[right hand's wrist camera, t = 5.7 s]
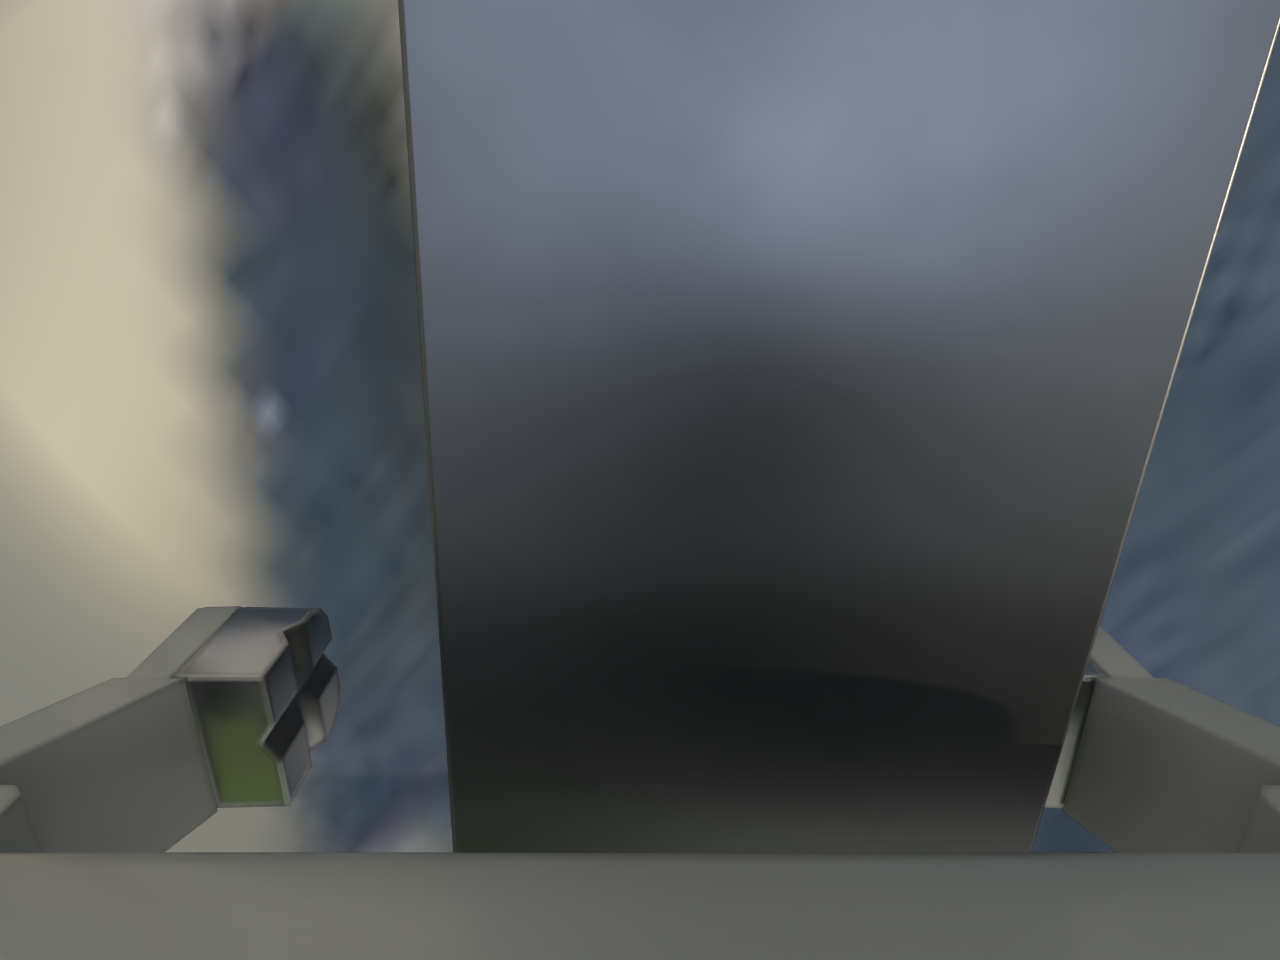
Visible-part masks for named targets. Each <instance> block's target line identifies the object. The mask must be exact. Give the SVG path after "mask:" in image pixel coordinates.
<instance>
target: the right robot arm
mask: <svg viewBox="0 0 1280 960" xmlns="http://www.w3.org/2000/svg"><path fill="white" fill-rule="evenodd" d="M331 640H332V635H331V630H330V625H329V620H328V616H327V615H326V614H325V613H324V612H323V611H322V610H321V609H320V608H268V607H245V608H243V607H240V606H234V607H205V608H199V609H197V610H196V611H195V612H194V613H193V614H192V615H190V616H189V617H188V618H187V619H186V620H185V621H184V622H183V623H182V624H181V625H180V626H179V627H178V628H177V629H176V630H175V631H174V632H173V633H172V634H171V635H170V636H169V637H168V638H167V639H166V640H165V641H164V642H163V643H162V644H161V645H160V646H159V647H157V648H156V649H155V650H154V651H153V652H152V653H151V654H150V655H149V656H148V657H147V658H146V659H145V660H144V661H143V662H142V663H141V664H140V665H139V666H138V667H137V668H136V669H135V670H134V671H133V672H132V673H131V674H130V675H129V676H128V677H127V678H112V679H110V680H107V681H105V682H103V683H100V684H98V685H96V686H94V687H91V688H89V689H87V690H84V691H82V692H80V693H77V694H75V695H73V696H70V697H68V698H66V699H63V700H61V701H59V702H56V703H54V704H52V705H49V706H47V707H45V708H43V709H40V710H38V711H36V712H33V713H31V714H29V715H26V716H24V717H22V718H19V719H17V720H15V721H12V722H10V723H8V724H5V725H3V726H1V727H0V960H1280V727H1279V726H1277V725H1274V724H1272V723H1270V722H1267V721H1265V720H1263V719H1260V718H1258V717H1256V716H1253V715H1251V714H1249V713H1247V712H1244V711H1242V710H1240V709H1237V708H1235V707H1233V706H1230V705H1228V704H1226V703H1223V702H1221V701H1219V700H1216V699H1214V698H1212V697H1210V696H1207V695H1205V694H1203V693H1200V692H1198V691H1196V690H1193V689H1191V688H1189V687H1186V686H1184V685H1182V684H1179V683H1177V682H1175V681H1173V680H1170V679H1168V678H1153V677H1152V676H1151V675H1150V674H1149V673H1148V672H1147V671H1146V670H1145V669H1144V668H1143V667H1142V666H1141V665H1140V664H1139V663H1138V662H1137V661H1136V660H1135V659H1134V658H1133V657H1132V656H1131V655H1130V654H1129V653H1128V652H1127V651H1126V650H1125V649H1124V648H1123V647H1122V646H1121V645H1120V644H1119V643H1118V642H1116V641H1115V640H1114V639H1113V638H1112V637H1111V636H1110V635H1109V634H1108V633H1107V632H1106V631H1105V630H1104V629H1103V628H1102V627H1101V626H1100V625H1099V628H1098V632H1097V635H1096V638H1095V642H1094V645H1093V648H1092V651H1091V655H1090V658H1089V661H1088V665H1087V668H1086V671H1085V675H1084V678H1083V681H1082V685H1081V688H1080V691H1079V695H1078V698H1077V701H1076V704H1075V708H1074V711H1073V714H1072V718H1071V721H1070V724H1069V728H1068V731H1067V734H1066V738H1065V741H1064V744H1063V747H1062V751H1061V754H1060V757H1059V761H1058V764H1057V767H1056V771H1055V774H1054V777H1053V781H1052V784H1051V787H1050V791H1049V794H1048V797H1047V800H1046V804H1045V807H1046V808H1063V812H1064V813H1066V814H1067V815H1068V816H1069V817H1071V818H1072V819H1073V820H1075V821H1076V822H1077V823H1078V824H1080V825H1081V826H1082V827H1084V828H1085V829H1086V830H1087V831H1089V832H1090V833H1091V834H1093V835H1094V836H1095V837H1097V838H1098V839H1099V840H1100V841H1102V842H1103V843H1104V844H1106V845H1107V846H1108V847H1109V848H1111V849H1112V850H1113V851H1115V852H1116V853H164V852H166V851H167V850H168V849H169V848H171V847H172V846H173V845H175V844H176V843H177V842H178V841H180V840H181V839H182V838H184V837H185V836H186V835H188V834H189V833H190V832H191V831H193V830H194V829H195V828H197V827H198V826H199V825H201V824H202V823H203V822H204V821H206V820H207V819H208V818H210V817H211V816H212V815H214V814H215V813H216V812H217V808H233V807H269V806H290V805H291V803H292V801H293V799H294V797H295V796H296V794H297V792H298V790H299V789H300V787H301V785H302V783H303V781H304V780H305V778H306V776H307V774H308V772H309V771H310V769H311V767H312V762H311V757H310V751H311V750H313V749H314V748H316V747H317V746H319V745H320V744H322V743H323V742H325V741H326V740H327V738H328V736H329V734H330V732H331V730H332V728H333V726H334V724H335V720H336V716H337V711H338V707H339V703H340V683H339V676H338V670H337V667H336V666H335V665H334V664H333V663H332V662H331V661H330V660H329V659H328V658H327V657H326V656H325V655H324V654H323V652H324V650H325V649H326V647H327V646H328V644H329V643H330V641H331Z"/></svg>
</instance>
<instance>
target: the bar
mask: <svg viewBox="0 0 1280 960" xmlns="http://www.w3.org/2000/svg"><path fill="white" fill-rule="evenodd" d="M398 9H399V24H400V39H401V55H402V70H403V86H404V101H405V116H406V132H407V147H408V163H409V178H410V193H411V209H412V224H413V240H414V255H415V270H416V286H417V301H418V317H419V332H420V348H421V363H422V378H423V394H424V409H425V425H426V440H427V455H428V471H429V486H430V502H431V517H432V532H433V548H434V563H435V579H436V594H437V610H438V625H439V640H440V656H441V671H442V687H443V702H444V717H445V733H446V748H447V764H448V779H449V794H450V810H451V825H452V841H453V853H1031V850H1032V847H1033V844H1034V840H1035V837H1036V834H1037V830H1038V827H1039V824H1040V820H1041V817H1042V814H1043V810H1044V807H1045V804H1046V800H1047V797H1048V794H1049V791H1050V787H1051V784H1052V781H1053V777H1054V774H1055V771H1056V767H1057V764H1058V761H1059V757H1060V754H1061V751H1062V747H1063V744H1064V741H1065V738H1066V734H1067V731H1068V728H1069V724H1070V721H1071V718H1072V714H1073V711H1074V708H1075V704H1076V701H1077V698H1078V695H1079V691H1080V688H1081V685H1082V681H1083V678H1084V675H1085V671H1086V668H1087V665H1088V661H1089V658H1090V655H1091V651H1092V648H1093V645H1094V642H1095V638H1096V635H1097V632H1098V628H1099V625H1100V622H1101V618H1102V615H1103V612H1104V608H1105V605H1106V602H1107V598H1108V595H1109V592H1110V589H1111V585H1112V582H1113V579H1114V575H1115V572H1116V569H1117V565H1118V562H1119V559H1120V555H1121V552H1122V549H1123V545H1124V542H1125V539H1126V536H1127V532H1128V529H1129V526H1130V522H1131V519H1132V516H1133V512H1134V509H1135V506H1136V502H1137V499H1138V496H1139V493H1140V489H1141V486H1142V483H1143V479H1144V476H1145V473H1146V469H1147V466H1148V463H1149V459H1150V456H1151V453H1152V449H1153V446H1154V443H1155V440H1156V436H1157V433H1158V430H1159V426H1160V423H1161V420H1162V416H1163V413H1164V410H1165V406H1166V403H1167V400H1168V396H1169V393H1170V390H1171V387H1172V383H1173V380H1174V377H1175V373H1176V370H1177V367H1178V363H1179V360H1180V357H1181V353H1182V350H1183V347H1184V344H1185V340H1186V337H1187V334H1188V330H1189V327H1190V324H1191V320H1192V317H1193V314H1194V310H1195V307H1196V304H1197V300H1198V297H1199V294H1200V291H1201V287H1202V284H1203V281H1204V277H1205V274H1206V271H1207V267H1208V264H1209V261H1210V257H1211V254H1212V251H1213V247H1214V244H1215V241H1216V238H1217V234H1218V231H1219V228H1220V224H1221V221H1222V218H1223V214H1224V211H1225V208H1226V204H1227V201H1228V198H1229V195H1230V191H1231V188H1232V185H1233V181H1234V178H1235V175H1236V171H1237V168H1238V165H1239V161H1240V158H1241V155H1242V151H1243V148H1244V145H1245V142H1246V138H1247V135H1248V132H1249V128H1250V125H1251V122H1252V118H1253V115H1254V112H1255V108H1256V105H1257V102H1258V98H1259V95H1260V92H1261V89H1262V85H1263V82H1264V79H1265V75H1266V72H1267V69H1268V65H1269V62H1270V59H1271V55H1272V52H1273V49H1274V46H1275V42H1276V39H1277V36H1278V32H1279V29H1280V0H398Z"/></svg>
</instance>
